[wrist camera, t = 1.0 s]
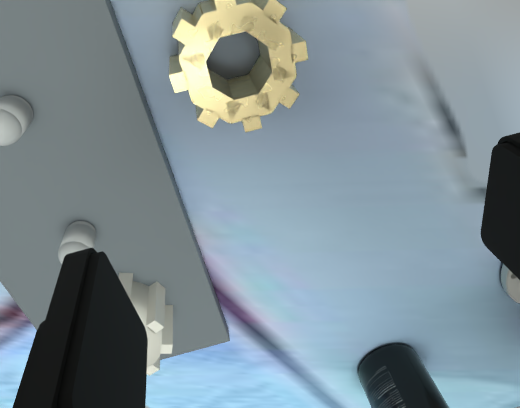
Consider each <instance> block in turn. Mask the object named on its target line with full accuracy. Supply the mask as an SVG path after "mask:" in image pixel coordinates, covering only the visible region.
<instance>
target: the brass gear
mask: <svg viewBox="0 0 520 408" xmlns="http://www.w3.org/2000/svg"><path fill="white" fill-rule="evenodd" d="M286 9H287V8H286V7H284V6H283V5H282V4H280V3H279V2H277V1H276V0H208V1H204V2H200V4H198V5H197V7H196V9H195V10H194V12H193V14H191V13H189V12H188V11H186V10H185V9H183V8H182V7H181V8H180V9H179V11H178V13H177V15H176V17H175V19H174V21H173V27H172V37H174V38H175V39H177V40H178V48H179V54H178V55H174V56H170V61H169V76H170V80H171V83H172V86H173V89H174V92H175V93H177V92H181V91H185V90H188V91H189V94H190V97H191V101H192V102H193V103H194V104H195V106H196V114H197V120H198V121H200V122H202V123H203V124H205V125H207V126H209V127H211V128H213V127H214V125H215V124H216V122H217V120H218V119H219V118H221V119H223V120H224V121H226V122H228V123H230V122H231V124H232V123H235V122H239V121H242V124H243V127H244V130H245V132H249V131H253V130H257V129H261V128H262V126H261V121H260V116H263V115H267V114H271V112H273V111H274V109H275V108H276V106H277V105H278V103H281V104H283V105H284V106H286V107H287V108H289V109H290V107H291V106H292V105H293V103H294V102H295V100H296V99H297V97H298V96H299V93H298V92H297V90H296V89H295V88H294V86H293V85H292V83H293V81H294V80H295V78H296V76H297V74H296V67H295V63H297V62H301V61H305V60H308V55H307V47H306V41H305V40H304V39H303V38H301V37H300V36H299V35H298V34H297V33H295V32H294V31H293V30H292V29H290V28H289V27H288V28H287V27H286V26H285V25H283V24H282V23H281V22H280V19H281V17H282V16H283V14H284V12H285V11H286ZM245 31H246V32H247V33H249V34H250V35H252V36H253V37H255V38H256V39H257V40H258V46H259V51H260V56H259V58H258V59H257V61H256V63H255V64H254V66H253V68H252V69H251V71H250V72H249V74H248V75H244V76H240V77H236V78H232V79H228V80H226V79H225V78H223V77H222V76H220V75H218V74H217V73H215V72H213V71H212V70H210V69H208V68H207V64H206V60H207V59H208V57H209V55H210V53H211V52H212V50H213V48H214V46H215V45H216V43H217V41H218V39H219V38H221V37H225V36H229V35H233V34H237V33H241V32H245Z"/></svg>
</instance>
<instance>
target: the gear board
mask: <svg viewBox="0 0 520 408" xmlns="http://www.w3.org/2000/svg"><path fill="white" fill-rule="evenodd" d="M88 248H94V249H95V250H96V251H97V252H101V251H103V252H104V253H105V254H106V255H107V257H108V259H109V261H110V263H111V265H112V266H113V268H114V270H115V272H116V274H117V276H118V278H119V280H120V281H121V283H122V285H123V287H124V289H125V291H126V293H127V295H128V296H129V298H130V300H131V302H132V304H133V306H134V308H135V309H136V311H137V313H138V315H139V317H140V319H141V321H142V323H143V324H144V327H145V329H146V332H147V338H148V348H147V373H146V374H148V375H149V376H150V375H151V374H153V373H155V372H156V371H158V370H160V360H162V359H165V358H169V357H173V356H176V355H180V354H184V353H187V352H191V351H195V350H198V349H202V348H206V347H209V346H213V345H217V344H220V343H224V342H228V341H230V339H229V331H228V326H227V324H226V321H225V318H224V315H223V313H222V310H221V307H220V304H219V301H218V299H217V296H216V293H215V290H214V288H213V285H212V282H211V279H210V277H209V274H208V271H207V268H206V265H205V263H204V260H203V257H202V254H201V252H200V249H199V246H198V243H197V240H196V238H195V235H194V232H193V229H192V227H191V224H190V221H189V218H188V216H187V213H186V210H185V207H184V204H183V202H182V199H181V196H180V193H179V191H178V188H177V185H176V182H175V180H174V177H173V174H172V171H171V168H170V166H169V163H168V160H167V157H166V155H165V152H164V149H163V146H162V143H161V141H160V138H159V135H158V132H157V130H156V127H155V124H154V121H153V119H152V116H151V113H150V110H149V107H148V105H147V102H146V99H145V96H144V94H143V91H142V88H141V85H140V82H139V80H138V77H137V74H136V71H135V69H134V66H133V63H132V60H131V58H130V55H129V52H128V49H127V46H126V44H125V41H124V38H123V35H122V33H121V30H120V27H119V24H118V21H117V19H116V16H115V13H114V10H113V8H112V5H111V2H110V0H0V282H1V283H2V284H3V286H4V287H5V288H6V290H7V291H8V292H9V294H10V295H11V296H12V298H13V299H14V300H15V302H16V303H17V304H18V306H19V307H20V308H21V310H22V311H23V312H24V314H25V315H26V316H27V318H28V319H29V320H30V322H31V323H32V324H33V326H34V327H35V328H36V330H37V329H38V327H39V325H40V324H41V323H42V322H43V321H45V319H46V316H47V312H48V309H49V306H50V302H51V299H52V296H53V293H54V289H55V286H56V283H57V279H58V276H59V273H60V269H61V266H62V263H63V260H64V257H65V255H67V254H69V253H73V252H77V251H80V250H84V249H88Z"/></svg>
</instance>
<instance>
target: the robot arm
mask: <svg viewBox="0 0 520 408" xmlns="http://www.w3.org/2000/svg"><path fill="white" fill-rule="evenodd" d="M481 238H482V241H483V243H484V244H485V246H486V247H487V248H488V249H489V250H490V251H491V252H492V253H493V254H494V255H495V256H496V257H497V258H498V259H499V260H500V261H501V262H502V263H503V266H502V270H501V283H502V286H503V289H504V290H505V291H506V293H507V294H508V295H509V296H510V297H511V298H512V299H513V300H514V301H515V302H517V303H519V304H520V133H516V134H512V135H509V136H505V137H502V138H501V139H500V140H499V142H498V144H497V145H496V146H495V147H494V148H493V150H492V155H491V163H490V169H489V177H488V184H487V191H486V198H485V206H484V213H483V220H482V227H481ZM147 348H148V338H147V332H146V329H145V327H144V324H143V323H142V321H141V319H140V317H139V315H138V313H137V311H136V309H135V308H134V306H133V304H132V302H131V300H130V298H129V296H128V295H127V293H126V291H125V289H124V287H123V285H122V283H121V281H120V280H119V278H118V276H117V274H116V272H115V270H114V268H113V266H112V265H111V263H110V261H109V259H108V257H107V255H106V254H105V253H104V252H103V251H101V252H97V251H96V250H95V249H94V248H88V249H84V250H80V251H77V252H73V253H69V254H67V255H65V257H64V260H63V263H62V266H61V269H60V273H59V276H58V279H57V283H56V286H55V289H54V293H53V296H52V299H51V302H50V306H49V309H48V312H47V316H46V319H45V321H43V322H42V323H41V324H40V325H39V327H38V329H37V332H36V335H35V338H34V342H33V345H32V348H31V351H30V354H29V357H28V361H27V364H26V367H25V370H24V373H23V376H22V380H21V383H20V386H19V389H18V392H17V395H16V399H15V402H14V405H13V408H145V398H146V373H147ZM516 408H520V406H519V407H516Z"/></svg>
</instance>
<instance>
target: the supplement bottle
mask: <svg viewBox="0 0 520 408" xmlns="http://www.w3.org/2000/svg"><path fill="white" fill-rule="evenodd" d="M358 375H359V379H360V382H361V384H362V387H363V389H364V391H365V394H366V396H367V398H368V401H369V403H370V405H371V407H372V408H449V406H448V405H447V403H446V401H445V400H444V398H443V396H442V395H441V393H440V391H439V390H438V388H437V386H436V385H435V383H434V381H433V380H432V378H431V376H430V375H429V373H428V371H427V370H426V368H425V366H424V365H423V363H422V361H421V360H420V358H419V356H418V355H417V353H416V352H415V351H414V350H413V349H412V348H410V347H408V346H406V345H401V344H392V345H387V346H384V347H381V348H379V349H377V350H375V351H373V352H372V353H370V354H369V355H368V356H367V357H366V358H365V359H364V360H363V361H362V363H361V365H360V367H359V371H358Z"/></svg>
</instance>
